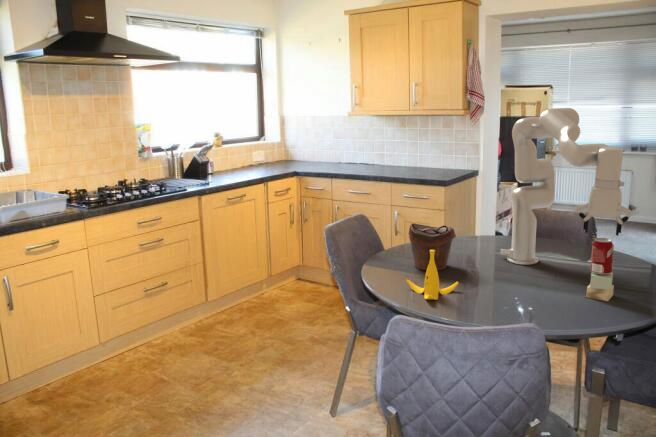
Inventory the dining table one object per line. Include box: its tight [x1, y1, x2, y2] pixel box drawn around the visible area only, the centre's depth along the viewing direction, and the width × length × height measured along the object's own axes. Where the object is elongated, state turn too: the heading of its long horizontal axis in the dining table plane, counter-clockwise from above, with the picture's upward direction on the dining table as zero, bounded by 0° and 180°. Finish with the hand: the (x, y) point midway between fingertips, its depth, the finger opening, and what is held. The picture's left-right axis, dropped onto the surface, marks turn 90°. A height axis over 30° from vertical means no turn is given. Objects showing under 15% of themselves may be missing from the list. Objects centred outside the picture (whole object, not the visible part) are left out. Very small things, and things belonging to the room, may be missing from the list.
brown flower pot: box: [408, 222, 457, 271], centre depth 242 cm, size 18×20×18 cm
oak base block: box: [586, 284, 615, 302], centre depth 206 cm, size 7×7×4 cm
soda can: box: [590, 237, 615, 275], centre depth 203 cm, size 7×7×12 cm
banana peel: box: [406, 250, 460, 301], centre depth 211 cm, size 17×19×17 cm
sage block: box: [589, 272, 614, 290], centre depth 204 cm, size 6×6×4 cm
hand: (601, 233), depth 202 cm, fingers open, 9 cm apart
